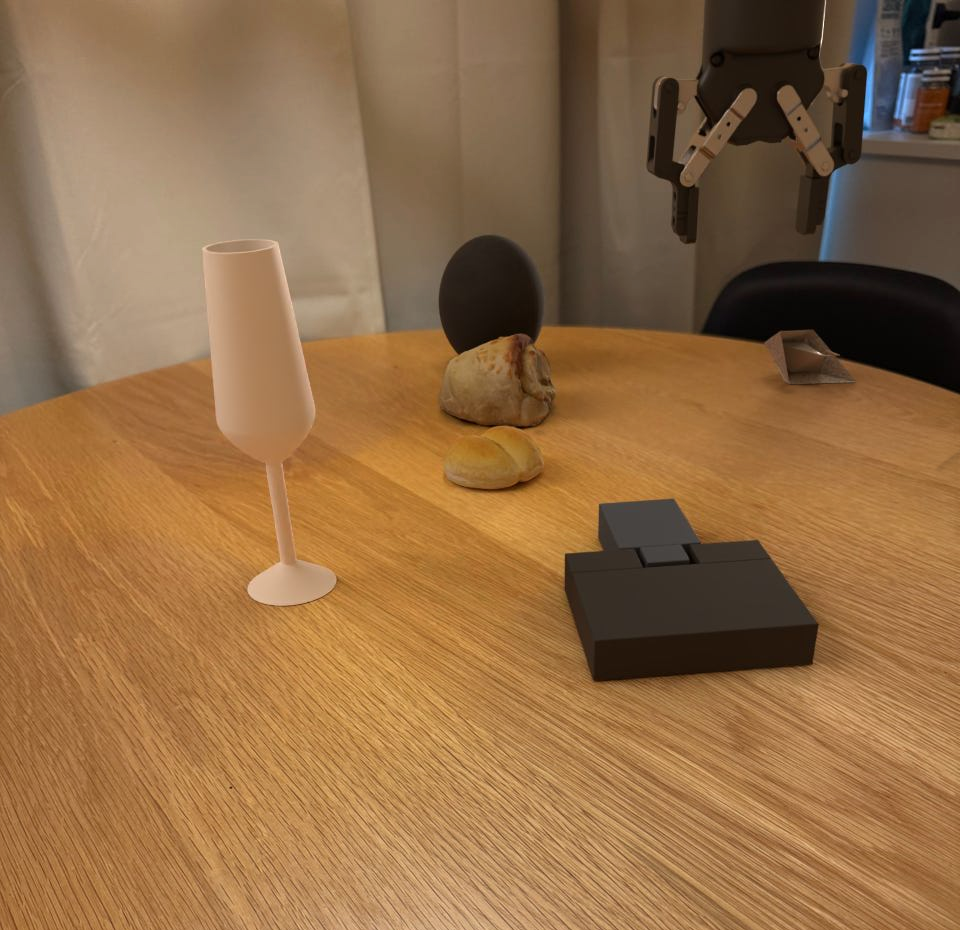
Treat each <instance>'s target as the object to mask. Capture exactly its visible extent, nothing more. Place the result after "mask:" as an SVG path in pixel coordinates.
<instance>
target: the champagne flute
mask: <svg viewBox="0 0 960 930" xmlns="http://www.w3.org/2000/svg"><path fill="white" fill-rule="evenodd" d="M201 254H202V255H201V256H202V265H203V277H204V279H203V280H204V292H205V303H206V313H207V315H206V316H207V324H208V326H207V327H208V337H209V338H208V339H209V351H210V364H211V373H212V374H211V375H212V384H213V385H212V386H213V397H214V399H213V400H214V409H215V421H216V424H217V427H218V429H219V430H220V431H221V433H222V434H223V436H224V437H225V438H226V439H227V440H228V441H229V442H230V444H232V445H233V446H234V447H235V448H237V449H238V450H239V451H241V452H243V453H244V454H246V455H247V456H248V457H250V458H252V459H253V460H255V461H257V462H259V463H262V464H265V471H266V477H267V478H266V479H267V484H268V491H269V498H270V503H271V509H272V515H273V522H274V527H275V534H276V541H277V547H278V554H279V560H280V561H278V562H276V563H275V564H273V565H272V566H270V567H269V568H266V569H265V570H264V571H262V572H260V573H259V574H257V575H256V576H254V578H252V579H251V580H250V581H249V583H248V585H247V588H246V590H247V594H248V595H249V597H250V598H251V599H252V600H254V601H256V602H258V603H260V604H265V605H268V606H276V607H277V606H278V607H280V606H281V607H284V606H285V607H286V606H296V605H301V604H305V603H311V602H313V601H316V600H318V599H320V598H322V597H324V596H326V595H327V594H328V593H330V592H331V591H332V590H334V588H335V586H336V584H337V582H338V581H337V580H338V579H337V575H336V573H335V572H334V571H332V570H331V569H329V568H328V567H326V566H322V565H319V564H316V563H312V562H309V561H305V560H303V559H298V558H297V553H296V547H295V540H294V533H293V527H292V519H291V513H290V507H289V500H288V493H287V487H286V479H285V473H284V466H283V462H284V461H285V460H287V459H288V458H290V457H291V456H292V455H293V454H294V453H295V451H296V450H297V449H298V448H299V447H300V445H301V444H302V443H303V442H304V441H305V439H306V438H307V437H308V435H309V433H310V431H311V430H312V427H313V425H314V422H315V420H316V413H317V412H316V411H317V410H316V405H315V401H314V396H313V392H312V388H311V383H310V378H309V374H308V370H307V365H306V360H305V356H304V352H303V347H302V343H301V338H300V334H299V329H298V325H297V319H296V316H295V311H294V308H293V302H292V297H291V293H290V289H289V285H288V280H287V275H286V271H285V267H284V262H283V258H282V252H281V249H280V244H279V242H278V241H276V240H272V239H264V238H263V239H261V238H254V239H253V238H251V239H249V238H248V239H234V240H233V239H232V240H225V241H219V242H214V243H211V244H208V245H205V246H203V247H202V248H201Z"/></svg>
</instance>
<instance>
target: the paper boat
mask: <svg viewBox="0 0 960 930" xmlns="http://www.w3.org/2000/svg"><path fill="white" fill-rule="evenodd" d="M763 344H764V345H765V348H766V349H767V351H768V353H769V355H770V357H771V359H772V361H773V363H774V365H775V367H776V369H777V370H778V372H779V374H780V376H781V378H782V380H783V382H785V383H786V384H788V385H811V384H843V383H857V380H856V379H855V378H854V377H853V376H852V374H851V373H850V372H849V371H848V369H847V368H846V367H845V366H844V365H843V364H842V363H841V361H840V360H839V358H837V357H841V354H839V353H836V352H833V351H832V350H831V349H830V348H829V347H828V346H827V344H826V343H825V342H824V341H823V339H822V338H821V337H820V336H819V334H817V332H816V331H815V330H814V329H796V330H780V331H778V332H777V333H775V334H774V335H773V336H771V337H770V338H768V339H767V340H766V341H764V342H763Z"/></svg>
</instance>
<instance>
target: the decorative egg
mask: <svg viewBox="0 0 960 930" xmlns="http://www.w3.org/2000/svg"><path fill="white" fill-rule="evenodd" d="M545 311H546V294H545V287H544V283H543V279H542V276H541V273H540V271H539V268H538V267H537V264H536V263H535V261H534V259H533V258H532V257H531V255H530V254H529V253H528V251H527V250H526V249H525V248H524V247H522V246H521V245H520V244H519V243H517V242H516V241H514V240H513V239H512V238H509V237H506V236H504V235H498V234H483V235H479V236H476V237H473V238H471V239H469V240H468V241H466V242H465V243H464V244H462V245H461V246H459V248H458V249H457V250H455V252H454V253H453V255H452V256H451V257H450V259H449V260H448V262H447V264H446V266H445V268H444V270H443V272H442V276H441V280H440V284H439V290H438V313H439V319H440V324H441V326H442V330H443V332H444V335H445V337H446V339H447V341H448V343H449V345H450V346H451V348H452V349H453V350H454V352H455V353H456V354H457V355H458V356H459V355H460V354H462V353H464V352H465V351H469V350H471V349H474V348H476V347H478V346H480V345H482V344H485V343H487V342H490V341H493V340H497V339H498V338H499V337H509V336H512V335H515V334H525V335H527V336H528V337H530V338H531V339H532V341H533V343H534V345H535V344H536V342H537V341H538V338H539V336H540V334H541V331H542V327H543V324H544V320H545V314H546V313H545Z"/></svg>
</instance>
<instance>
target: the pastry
mask: <svg viewBox="0 0 960 930" xmlns="http://www.w3.org/2000/svg"><path fill="white" fill-rule="evenodd" d="M551 375H552V370H551V366H550V362H549V359H548V356H547V355H546V353H545V351H544V350H542V349H540V348H539V347H538V346H537V345H535V344H534V343H533V341H532V339H531V338H530V337H528V336H527V335H525V334H515V335H512V336H509V337H499V338H498V339H497V340H493V341H490V342H487V343H485V344H482V345H480V346H478V347H476V348H474V349H471V350H469V351H465V352H464V353H462V354H460V355H458V356H454V357H453V358H451V359H450V360H449V363H448V364H447V365H446V369H445V372H444V374H443V378H442V384H441V387H440V390H439V393H438V404H439V409H440V410H441V411H444V412H446V414H447V415H450V416H454V417H457V419H459V420H461V419H462V420H464V421H468V422H471V423H476V425H479V426H483V427H485V426H510V427H515V428H517V427H529V426H531V427H534V426H537V425H539V424H540V423H541V422H543V420H546V418H547V417H548V415H549V410H550V409H551V408H552V402H553V401H554V400H555V399H556V396H557V393H558V392H557V388H556V386H555V383H554V382H553V380H552V379H551Z"/></svg>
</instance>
